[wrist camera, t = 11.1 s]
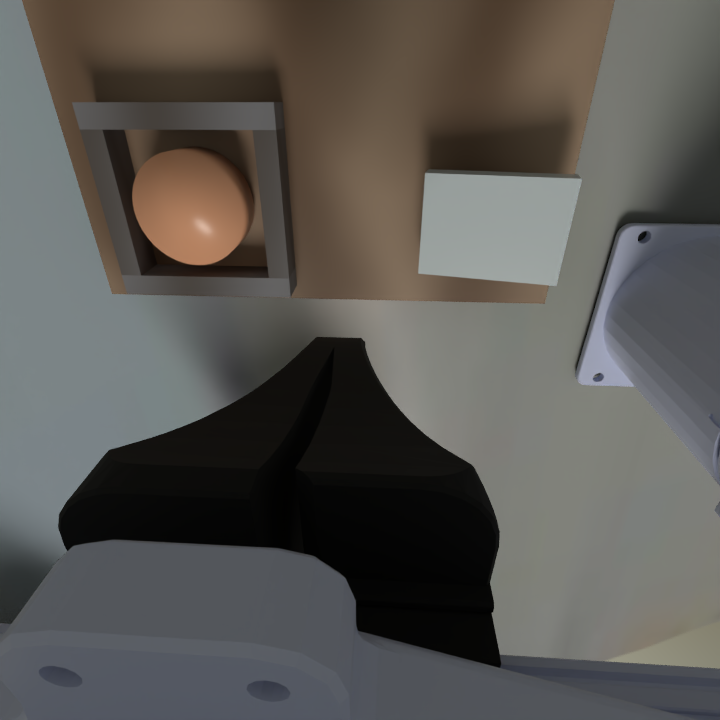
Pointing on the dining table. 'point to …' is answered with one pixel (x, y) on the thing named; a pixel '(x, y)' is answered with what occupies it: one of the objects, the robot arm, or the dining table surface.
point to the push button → (193, 204)
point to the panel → (316, 126)
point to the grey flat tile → (496, 224)
